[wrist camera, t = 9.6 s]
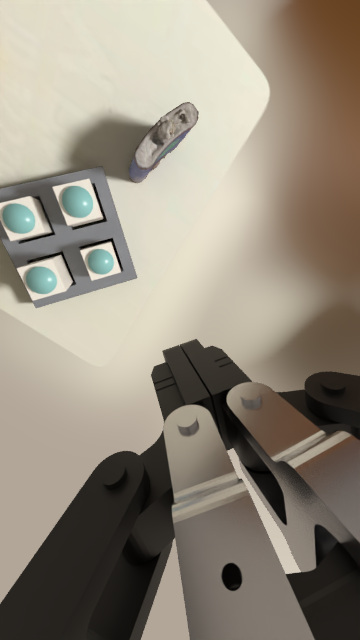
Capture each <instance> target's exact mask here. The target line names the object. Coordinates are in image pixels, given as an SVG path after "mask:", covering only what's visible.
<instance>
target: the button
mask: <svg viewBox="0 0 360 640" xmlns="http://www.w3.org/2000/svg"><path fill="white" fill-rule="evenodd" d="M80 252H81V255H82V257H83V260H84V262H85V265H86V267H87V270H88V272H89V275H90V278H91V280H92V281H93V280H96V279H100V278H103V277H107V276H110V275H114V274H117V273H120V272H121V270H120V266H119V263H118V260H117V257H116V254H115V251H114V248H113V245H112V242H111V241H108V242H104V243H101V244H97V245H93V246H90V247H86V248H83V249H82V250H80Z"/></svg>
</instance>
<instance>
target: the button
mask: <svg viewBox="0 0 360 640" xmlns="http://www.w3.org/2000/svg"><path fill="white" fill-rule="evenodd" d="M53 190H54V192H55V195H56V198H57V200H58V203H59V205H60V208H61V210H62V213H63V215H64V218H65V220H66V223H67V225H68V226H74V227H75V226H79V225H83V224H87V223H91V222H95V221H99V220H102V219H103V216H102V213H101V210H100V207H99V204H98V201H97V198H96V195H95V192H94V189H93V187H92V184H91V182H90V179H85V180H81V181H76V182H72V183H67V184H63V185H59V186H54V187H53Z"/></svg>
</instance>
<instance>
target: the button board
mask: <svg viewBox="0 0 360 640" xmlns="http://www.w3.org/2000/svg"><path fill="white" fill-rule="evenodd" d="M85 179H90V182H91V184H92V187H96V189H97V192H98V195H99V198H100V201H101V204H102V207H103V210H104V213H105V216H106V219H107V222H103V223H99V224H95V225H91V226H87V227H83V228H80V229H76V230H75V229H74V226H68V225H67V223H66V220H65V218H64V215H63V213H62V210H61V208H60V205H59V203H58V200H57V198H56V195H55V192H54V190H53V187H54V186H59V185H63V184H67V183H72V182H76V181H81V180H85ZM28 196H30V197H33V198H35V199H37V200H40V199H41V201H42V203H43V206H44V208H45V210H46V213H47V215H48V218H49V220H50V222H51V225H52V227H53V230H54V232H55V234H56V235H52V236H48V237H44V238H41V239H37V240H33V241H29V242H25V241H24V240H18V241H10V239H9V237H8V235H7V233H6V231H5V229H4V227H3V225H2V223H1V221H0V238H1V240H2V242H3V244H4V246H5V248H6V250H7V252H8V254H9V256H10V258H11V260H12V262H13V264H14V266H15V268H16V270H17V268H19V267H22V266H24V265H27V264H29V263H32V262H34V260H33V259H35V258H39V257H43V256H46V255H50V254H54V253H58V252H61V251H63V253H64V256H65V258H66V261H67V263H68V265H69V268H70V270H71V273H72V275H73V277H74V280H75V282H73V283H72V284H71V285H70V287H69V288H68V289H67V291H65V292H61V293H58V294H54V295H51V296H48V297H44V298H41V299H37V300H34V301H33V300H32V298H31V296H30V294H29V292H28V290H27V288H26V286H25V284H24V282H23V280H22V278H21V276H20V274H19V272H18V270H17V272H18V274H19V276H20V278H21V280H22V282H23V284H24V286H25V288H26V290H27V292H28V294H29V296H30V298H31V300H32V302H33V304H34V305H35V307H36V308H38V307H42V306H45V305H48V304H52V303H55V302H59V301H62V300H65V299H69V298H72V297H75V296H79V295H82V294H85V293H89V292H92V291H96V290H99V289H102V288H106V287H109V286H112V285H116V284H119V283H123V282H126V281H129V280H133V279H136V278H137V275H136V272H135V269H134V266H133V262H132V259H131V256H130V253H129V250H128V246H127V243H126V240H125V237H124V234H123V231H122V227H121V224H120V221H119V218H118V215H117V211H116V208H115V205H114V202H113V199H112V196H111V192H110V189H109V186H108V183H107V180H106V176H105V173H104V170H103V167H102V166H100V167H96V168H91V169H87V170H82V171H78V172H73V173H69V174H64V175H60V176H55V177H51V178H46V179H42V180H37V181H33V182H28V183H24V184H19V185H14V186H10V187H5V188H1V189H0V203H2V202H6V201H11V200H15V199H19V198H24V197H28ZM110 238H113V240H114V243H115V246H116V249H117V252H118V255H119V258H120V261H121V264H122V267H123V268H122V269H120V270H121V272H120V273H117V274H114V275H110V276H107V277H103V278H100V279H96V280H93V281H92V280H91V278H90V275H89V272H88V270H87V267H86V265H85V262H84V260H83V257H82V255H81V252H80V250H82V247H81V246H84V245H87V244H91V243H95V242H99V241H102V240H106V239H110Z"/></svg>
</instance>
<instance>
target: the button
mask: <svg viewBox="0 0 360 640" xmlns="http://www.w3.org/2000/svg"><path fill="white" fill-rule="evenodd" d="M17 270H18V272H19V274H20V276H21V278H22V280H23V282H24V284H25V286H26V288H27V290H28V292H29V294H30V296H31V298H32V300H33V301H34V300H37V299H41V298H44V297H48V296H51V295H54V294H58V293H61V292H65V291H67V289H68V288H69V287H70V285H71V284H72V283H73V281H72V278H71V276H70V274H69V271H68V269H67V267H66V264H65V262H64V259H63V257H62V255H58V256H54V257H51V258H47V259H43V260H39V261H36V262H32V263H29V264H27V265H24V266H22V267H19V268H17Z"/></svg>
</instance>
